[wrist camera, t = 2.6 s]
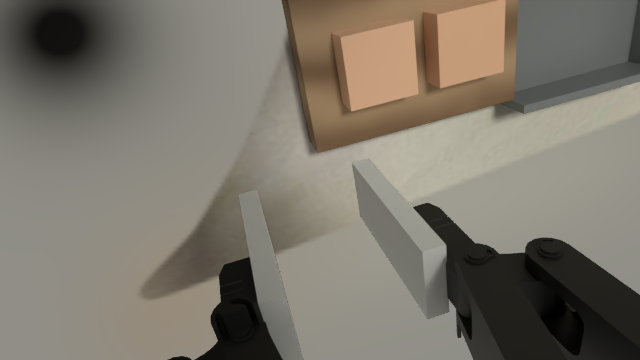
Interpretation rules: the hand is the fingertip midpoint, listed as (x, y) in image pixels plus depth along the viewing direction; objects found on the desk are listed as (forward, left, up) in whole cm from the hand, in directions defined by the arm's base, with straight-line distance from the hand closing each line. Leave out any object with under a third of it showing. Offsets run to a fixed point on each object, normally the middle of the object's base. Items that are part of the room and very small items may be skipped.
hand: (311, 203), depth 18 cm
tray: (0, +32, -23) cm, 39 cm away
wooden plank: (0, +14, -23) cm, 27 cm away
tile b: (0, +18, -20) cm, 27 cm away
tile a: (0, +10, -20) cm, 22 cm away
